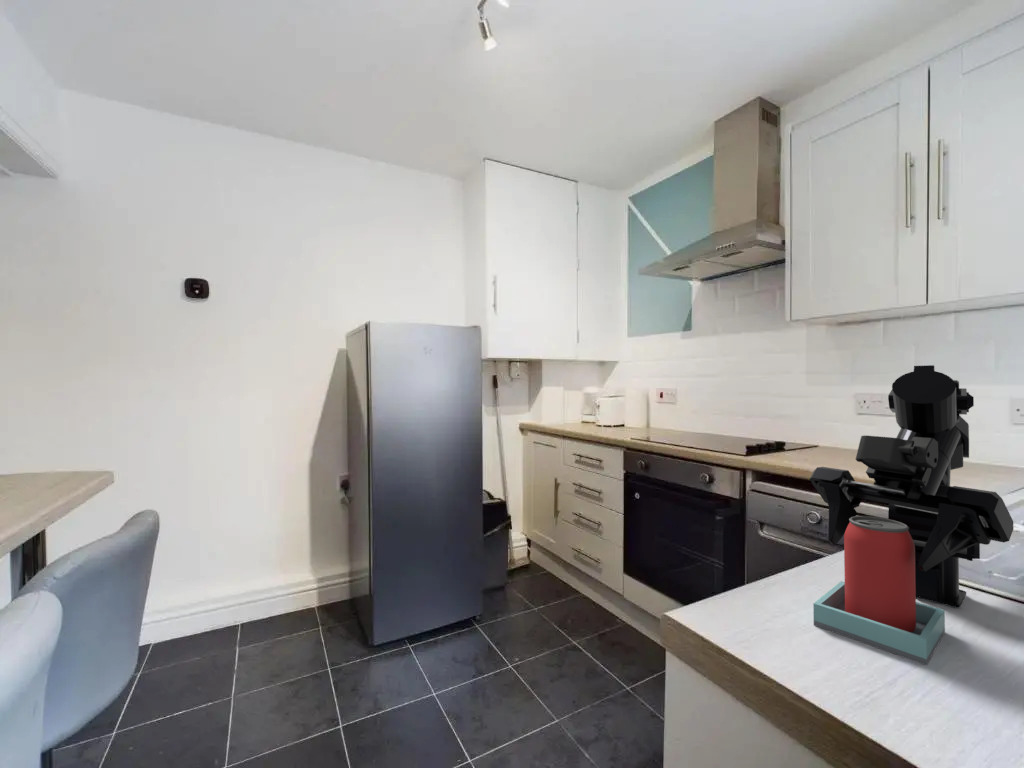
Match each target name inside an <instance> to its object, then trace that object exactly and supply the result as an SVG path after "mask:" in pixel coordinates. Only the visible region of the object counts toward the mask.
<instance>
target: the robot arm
mask: <svg viewBox="0 0 1024 768" xmlns="http://www.w3.org/2000/svg"><path fill="white" fill-rule="evenodd" d="M935 369H936V368H935V365H934V364H932V365H931V364H930V365H929V364H928V365H914V366H913V371H910V372H908V373H904V374H902V375H900V376H899V377H897V378H896V379H895V380H894V381H893V382H892V385H891V391H890V392H889V394H888V397H887V398H888V399H887V400H888V401H887V402H888V406H889V407H888V409H889V410H890V411H891V412H892V413H894V414H895V422H896V423H897V425H898V427H899V428H900V430H898V434H897V436H896V437H889V436H876V435H861V436H860V440H859V444H858V448H857V452H856V455H855V456H856V457H855V460H856V462H859V463H862V464H863V465H865V466H866V467H867V469H866V471H865V473H866V475H867V477H868V478H869V479H873V481H874V482H873V483H867V482H861V481H856V480H855V478H854V477H853V475H852V474H851V472H850V471H849V470H847V469H840V468H835V467H828V466H819V467H816V468H815V469H814V470H813V472H812V474H811V475H810V478H809V481H810V482H811V484H812V486H813V487H814V488H815V490H816V491H817V493H818V494H819V496H820V497H821V499H822V500H823V502H824V503H826V504H827V506H828V542H829V544H830V545H832V546H836V545H837V544H838V542H840V541H841V539H842V538H843V537H844V534H845V531H846V528H847V526H848V524H849V523H850V521H849V519H850V518H851V517H854V516H857V514H858V512H857V510H856V508H858V507H860V504H861V503H862V499H863V500H867V501H869V500H870V501H873V502H874V501H875V502H880V503H885V504H888V510H887V511H888V513H887V514H888V517H887V519H890V520H895V521H898V522H901V523H904V524H906V525H907V526H908V527H909V529H908V531H909V533H910V535H911V537H912V539H913V542H914V545H915V583H916V598H920V599H924V600H927V601H931V602H935V603H936V604H937V603H938V604H941V605H945V606H949V607H953V608H958V609H959V608H960V607H961V605H962V604H963V602H964V601H965V598H966V597H967V591H965V590H962V589H960V563H959V561H960V560H959V559H962V560H963V559H964V560H966V561H971V562H972V561H973V559H974V560H980V558H981V556H980V555H981V549H980V548H981V545H985V546H986V545H990V543H991V541H993V542H994V541H995V542H999V543H1006V542H1010V540H1011V537H1012V534H1013V532H1014V519H1013V518H1012V516H1011V513H1010V512H1009V510H1008V508H1007V505H1006V503H1005V501H1004V499H1003V498H1002V497H1001V496H1000V495H999V494H998V493H997V492H996V491H992V490H991V491H990V490H984V489H978V488H977V489H976V488H969V487H964V486H957V485H953V486H951V471H953V470H957V469H961V468H963V467H964V459H965V458H967V459H969V458H970V429H969V428H970V425H969V423H968V422H967V421H966V420H965V419H964V418H963V417H962V415H968V413H970V409H972V408H973V407H974V406H975V405H974V404H975V403H974V396H973V395H971V394H970V392H969V391H968V390H967V388H965V387H964V388H963V387H962V388H960V381H959V380H958V379H957V380H955V379H953V378H951V377H950V376H949V375H947V374H945V373H943V372H939V371H935Z"/></svg>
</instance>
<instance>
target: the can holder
mask: <svg viewBox="0 0 1024 768" xmlns="http://www.w3.org/2000/svg"><path fill="white" fill-rule="evenodd" d="M945 614H946V612H945V609H942V608H939V607H935V606H931V605H928V604H925V603H922V602H921V603H920V602H917V601H916V628H915V630H914V632H912V633H911V632H908V631H904V630H901V629H898V628H895V627H892V626H889V625H886V624H883V623H879V622H876V621H873V620H870V619H867V618H864V617H861V616H858V615H854V614H851V613H848V612H846V611H845V581H842V580H841V581H839V582H838V583H837V584H836V585H835V586H833V587H832V588H831V589H829V590H828V591H827V592H826V593H825V594H823V595H821V597H820V598H819V599H817V600H816V601H815V602H813V626H815V627H818V628H820V629H824V630H827V631H830V632H833V633H834V634H837V635H841V636H843V637H846V638H849V639H852V640H854V641H858V642H861V643H863V644H866V645H869V646H871V647H874V648H876V649H880V650H883V651H886V652H889V653H892V654H894V655H897V656H900V657H901V658H905V659H908V660H911V661H914V662H915V663H916V662H917V663H920V664H922V665H925V666H928V663H930V660H931V658H932V656H933V655H934V652H935V651H936V649H937V647H938V645H939V644H940V643H941V640H942V638H943V637H944V635H945V633H946V624H945V622H946V620H945V619H946V615H945Z"/></svg>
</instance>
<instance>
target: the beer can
mask: <svg viewBox="0 0 1024 768" xmlns="http://www.w3.org/2000/svg"><path fill="white" fill-rule="evenodd" d="M849 521H850V523H849V524H848V526H847V528H846V531H845V533H844V535H843V544H844V546H843V547H844V549H843V551H844V553H843V554H844V555H843V556H844V561H843V562H844V582H845V611H846V612H848V613H851V614H854V615H858V616H861V617H864V618H867V619H870V620H873V621H876V622H879V623H883V624H886V625H889V626H892V627H895V628H898V629H901V630H904V631H908V632H911V633H912V632H914V630H915V628H916V602H917V600H916V599H917V597H916V583H915V545H914V542H913V539H912V537H911V535H910V533H909V531H908V529H909V527H908V526H907V525H906V524H904V523H901V522H898V521H895V520H890V519H888V518H885V517H878V516H868V515H858V516H857V515H856V516H854V517H851V518H850V519H849Z"/></svg>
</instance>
